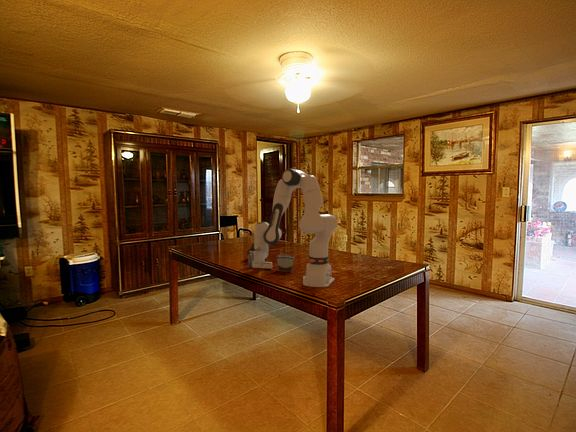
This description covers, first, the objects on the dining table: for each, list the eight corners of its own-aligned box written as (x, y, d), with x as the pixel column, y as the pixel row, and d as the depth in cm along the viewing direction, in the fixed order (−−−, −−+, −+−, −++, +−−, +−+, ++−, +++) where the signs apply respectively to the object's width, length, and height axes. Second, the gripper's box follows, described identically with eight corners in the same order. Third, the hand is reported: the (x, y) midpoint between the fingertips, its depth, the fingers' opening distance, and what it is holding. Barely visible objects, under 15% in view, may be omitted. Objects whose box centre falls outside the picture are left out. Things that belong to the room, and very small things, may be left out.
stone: (255, 256, 250) (255, 237, 249) (266, 257, 245) (265, 238, 244) (244, 259, 238) (244, 240, 236) (255, 261, 233) (255, 241, 231)
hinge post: (251, 268, 211) (251, 254, 211) (247, 267, 212) (247, 254, 211) (252, 267, 214) (252, 253, 213) (249, 266, 215) (248, 253, 214)
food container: (296, 269, 207) (296, 254, 207) (294, 271, 201) (294, 256, 201) (278, 268, 211) (278, 254, 210) (276, 270, 205) (276, 255, 204)
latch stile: (253, 263, 226) (253, 251, 225) (249, 262, 227) (249, 251, 226) (254, 262, 228) (254, 251, 227) (250, 262, 229) (250, 250, 228)
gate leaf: (252, 267, 212) (252, 261, 212) (252, 266, 213) (252, 261, 213) (271, 268, 209) (271, 262, 208) (272, 268, 210) (272, 262, 210)
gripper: (260, 249, 193) (260, 270, 194) (269, 243, 213) (270, 263, 214) (251, 248, 194) (251, 270, 196) (261, 243, 214) (261, 262, 215)
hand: (261, 266), depth 205 cm, fingers closed
